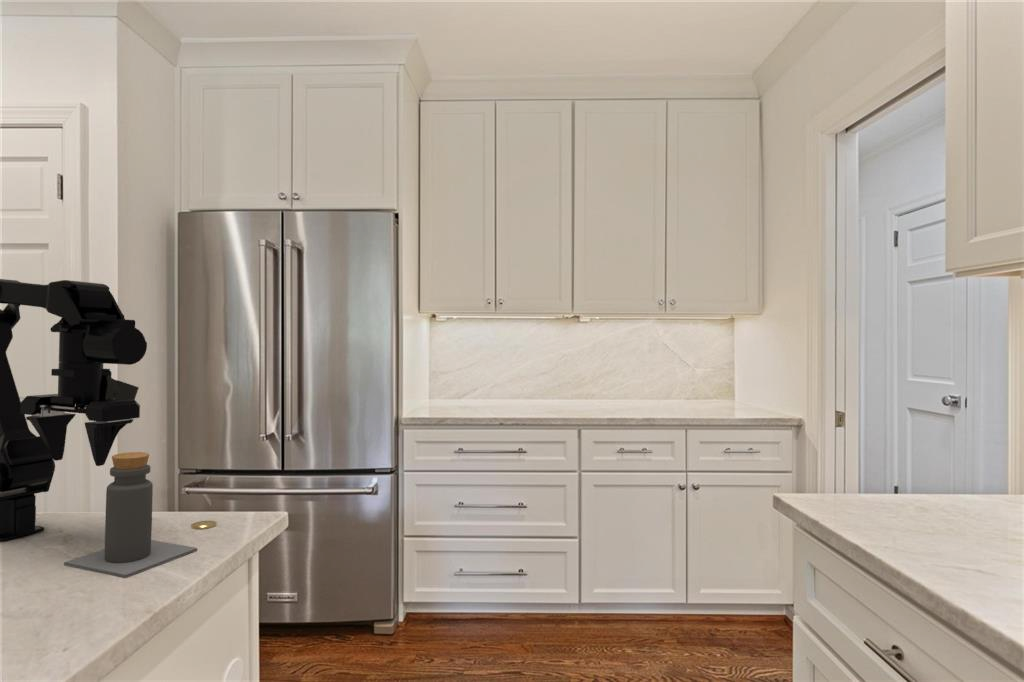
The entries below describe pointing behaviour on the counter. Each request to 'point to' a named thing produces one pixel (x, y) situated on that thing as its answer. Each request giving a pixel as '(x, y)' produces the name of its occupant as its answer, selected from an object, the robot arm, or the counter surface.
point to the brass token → (203, 524)
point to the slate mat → (158, 556)
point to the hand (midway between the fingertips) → (78, 462)
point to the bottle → (128, 509)
